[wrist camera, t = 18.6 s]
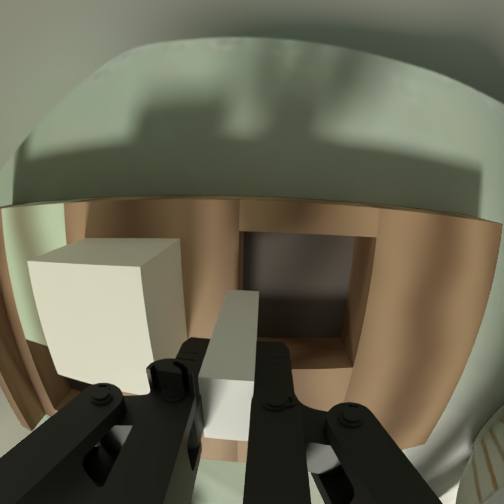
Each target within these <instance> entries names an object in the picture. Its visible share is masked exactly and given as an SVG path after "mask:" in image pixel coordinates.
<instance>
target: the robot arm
mask: <svg viewBox="0 0 504 504" xmlns="http://www.w3.org/2000/svg"><path fill="white" fill-rule="evenodd" d="M258 304H259V291H245V290H227V292H226V295H225V298H224V301H223V304H222V306H221V309H220V312H219V315H218V318H217V321H216V324H215V327H214V330H213V333H212V336H211V339H208V338H197V337H190V338H189V339H187V340H186V341H185V342H183V343H182V345H181V347H180V349H179V353H177V356H176V359H175V358H165V359H160V360H157V361H154V362H152V363H150V364H149V365H148V366H147V368H146V373H147V377H148V382H149V387H150V392H149V394H145V395H131V396H123V393H122V392H121V390H120V388H118V387H117V386H115V385H113V384H110V383H97V384H93V385H91V386H89V387H87V388H86V389H85V390H83V391H82V392H81V393H80V394H78V395H77V396H76V397H75V398H74V399H72V400H71V401H70V402H69V403H67V404H66V405H65V406H64V407H62V408H61V409H60V410H59V411H58V412H56V413H55V414H54V415H53V416H51V417H50V418H49V419H48V420H46V421H45V422H44V423H43V424H42V425H40V426H39V427H38V428H37V429H35V430H34V431H33V432H32V433H31V434H29V435H28V436H27V437H26V438H25V439H23V440H22V441H21V442H19V443H18V444H17V445H16V446H15V447H13V448H12V449H11V450H10V451H9V452H7V453H6V454H5V455H3V456H2V457H1V458H0V504H190V502H191V497H192V493H193V488H194V484H195V479H196V475H197V470H198V466H199V461H200V457H201V452H202V443H201V438H202V434H203V430H204V437H207V438H216V439H226V440H238V441H248V448H247V461H246V473H245V485H244V497H243V504H311V497H310V487H309V477H308V472H311V475H312V477H313V479H314V481H315V483H316V486H317V488H318V490H319V492H320V494H321V496H322V499H323V501H324V503H325V504H442V502H441V501H440V500H439V498H438V497H437V496H436V495H435V493H434V492H433V491H432V489H431V488H430V487H429V485H428V484H427V483H426V482H425V480H424V479H423V478H422V476H421V475H420V474H419V473H418V471H417V470H416V469H415V467H414V466H413V465H412V463H411V462H410V461H409V460H408V458H407V457H406V456H405V454H404V453H403V452H402V450H401V449H400V448H399V447H398V445H397V444H396V443H395V441H394V440H393V439H392V438H391V436H390V435H389V434H388V432H387V431H386V430H385V428H384V427H383V426H382V425H381V423H380V422H379V421H378V419H377V418H376V417H375V415H374V414H373V413H372V412H371V411H370V410H369V409H368V408H367V407H366V406H363V405H361V404H359V403H353V402H344V403H339V404H337V405H335V406H333V407H332V408H331V409H330V410H329V411H328V412H327V411H322V410H317V409H313V408H310V407H308V406H306V405H304V404H302V403H301V402H300V401H299V400H298V398H297V397H296V395H295V392H294V384H293V376H292V368H291V360H290V352H289V348H288V347H287V346H286V345H285V344H284V343H283V342H274V341H257V325H258Z"/></svg>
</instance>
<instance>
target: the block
mask: <svg viewBox="0 0 504 504" xmlns="http://www.w3.org/2000/svg"><path fill="white" fill-rule="evenodd" d="M27 263H28V269H29V274H30V279H31V284H32V289H33V294H34V298H35V302H36V306H37V310H38V314H39V318H40V322H41V325H42V329H43V332H44V335H45V339H46V342H47V345H48V348H49V351H50V354H51V357H52V359H53V362H54V365H55V368H56V370H57V373H58V374H59V375H62V376H65V377H69V378H72V379H75V380H79V381H82V382H86V383H90V384H97V383H110V384H113V385H115V386H117V387H118V388H120V390H121V391H122V392H127V393H132V394H137V395H145V394H149V392H150V387H149V382H148V377H147V373H146V368H147V366H148V365H149V364H150V363H152V362H154V361H157V360H160V359H165V358H175V359H176V356H177V353H179V349H180V347H181V345H182V343H183V342H185V341H186V340H187V339H188V338H187V329H186V318H185V307H184V294H183V281H182V265H181V245H180V238H84V239H81V240H78V241H76V242H73V243H70V244H68V245H65V246H63V247H60V248H57V249H55V250H52V251H50V252H47V253H45V254H43V255H40V256H38V257H35V258H33V259H31V260H28V261H27Z"/></svg>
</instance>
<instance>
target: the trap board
mask: <svg viewBox="0 0 504 504" xmlns="http://www.w3.org/2000/svg"><path fill="white" fill-rule="evenodd" d="M502 225H503V224H500V223H496V222H493V221H489V220H485V219H481V218H477V217H473V216H468V215H462V214H455V213H448V212H441V211H433V210H425V209H417V208H408V207H399V206H390V205H380V204H369V203H358V202H346V201H332V200H317V199H300V198H280V197H254V196H194V195H188V196H129V197H104V198H85V199H70V200H56V201H44V202H33V203H22V204H13V205H7V206H2V207H0V386H1V388H2V390H3V392H4V394H5V396H6V398H7V400H8V402H9V404H10V406H11V408H12V409H13V411H14V413H15V415H16V416H17V418H18V420H19V421H20V423H21V425H22V426H23V427H25V428H27V429H29V430H30V431H32V430H33V429H34V428H35V427H36V425H37V424H38V423H39V422H40V420H41V419H42V418H43V417H44V415H45V414H47V415H49V416H53V415H54V414H55V413H56V412H58V411H59V410H60V409H61V408H62V407H64V406H65V405H66V404H67V403H69V402H70V401H71V400H72V399H74V398H75V397H76V396H77V395H78V394H80V393H81V392H82V391H83V390H85V389H86V388H87V387H89V386H91V385H93V384H90V383H86V382H82V381H79V380H75V379H72V378H69V377H65V376H62V375H59V374H58V373H57V370H56V368H55V365H54V362H53V359H52V357H51V354H50V351H49V348H48V345H47V342H46V339H45V335H44V332H43V329H42V325H41V322H40V318H39V314H38V310H37V306H36V302H35V298H34V294H33V289H32V284H31V279H30V274H29V269H28V263H27V261H28V260H31V259H33V258H35V257H38V256H40V255H43V254H45V253H47V252H50V251H52V250H55V249H57V248H60V247H63V246H65V245H68V244H70V243H73V242H76V241H78V240H81V239H84V238H180V245H181V265H182V281H183V294H184V307H185V318H186V329H187V338H188V339H189V338H190V337H197V338H208V339H211V336H212V333H213V330H214V327H215V324H216V321H217V318H218V315H219V312H220V309H221V306H222V304H223V301H224V298H225V295H226V292H227V290H245V291H259V304H258V325H257V341H274V342H283V343H284V344H285V345H286V346H287V347H288V348H289V352H290V360H291V368H292V376H293V384H294V392H295V395H296V397H297V398H298V400H299V401H300V402H301V403H302V404H304V405H306V406H308V407H310V408H313V409H317V410H322V411H327V412H328V411H329V410H330V409H331V408H332V407H333V406H335V405H337V404H339V403H344V402H353V403H359V404H361V405H363V406H366V407H367V408H368V409H369V410H370V411H371V412H372V413H373V414H374V415H375V417H376V418H377V419H378V421H379V422H380V423H381V425H382V426H383V427H384V428H385V430H386V431H387V432H388V434H389V435H390V436H391V438H392V439H393V440H394V441H395V443H396V444H397V445H398V447H399V448H400V449H401V450H402V449H406V448H410V447H414V446H418V445H422V444H425V442H426V441H427V439H428V437H429V436H430V434H431V433H432V431H433V429H434V428H435V426H436V424H437V422H438V421H439V419H440V417H441V415H442V413H443V412H444V410H445V408H446V406H447V404H448V402H449V400H450V398H451V396H452V394H453V392H454V390H455V388H456V386H457V384H458V382H459V379H460V377H461V375H462V373H463V370H464V368H465V366H466V363H467V361H468V358H469V356H470V353H471V351H472V348H473V345H474V343H475V340H476V337H477V334H478V331H479V328H480V325H481V322H482V319H483V316H484V312H485V309H486V306H487V302H488V298H489V294H490V291H491V286H492V282H493V278H494V273H495V269H496V264H497V258H498V253H499V247H500V240H501V233H502ZM121 392H122V391H121ZM122 393H123V396H131V395H137V394H132V393H127V392H122ZM201 443H202V452H201V457H200V458H203V459H211V460H220V461H231V462H246V461H247V448H248V441H238V440H226V439H216V438H207V437H204V430H203V434H202V438H201Z"/></svg>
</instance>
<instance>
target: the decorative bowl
mask: <svg viewBox="0 0 504 504" xmlns="http://www.w3.org/2000/svg"><path fill="white" fill-rule="evenodd" d="M473 447H474V451H473V453H472V454H471V456H470V458H469V460H468V462H467V464H466V467H465V469H464V472H463V474H462V477H461V480H460V484H459V488H458V492H457V498H456V504H504V404H503V405H502V406H501V407H500V408H499V409H498V410H497V411H496V412H495V413H494V414H493V416H492V417H491V418H490V419H489V420H488V421H487V423H486V424H485V425H484V426H483V428H482V429H481V430H480V432H479V433H478V435H477V437H476V439H475V441H474V444H473Z"/></svg>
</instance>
